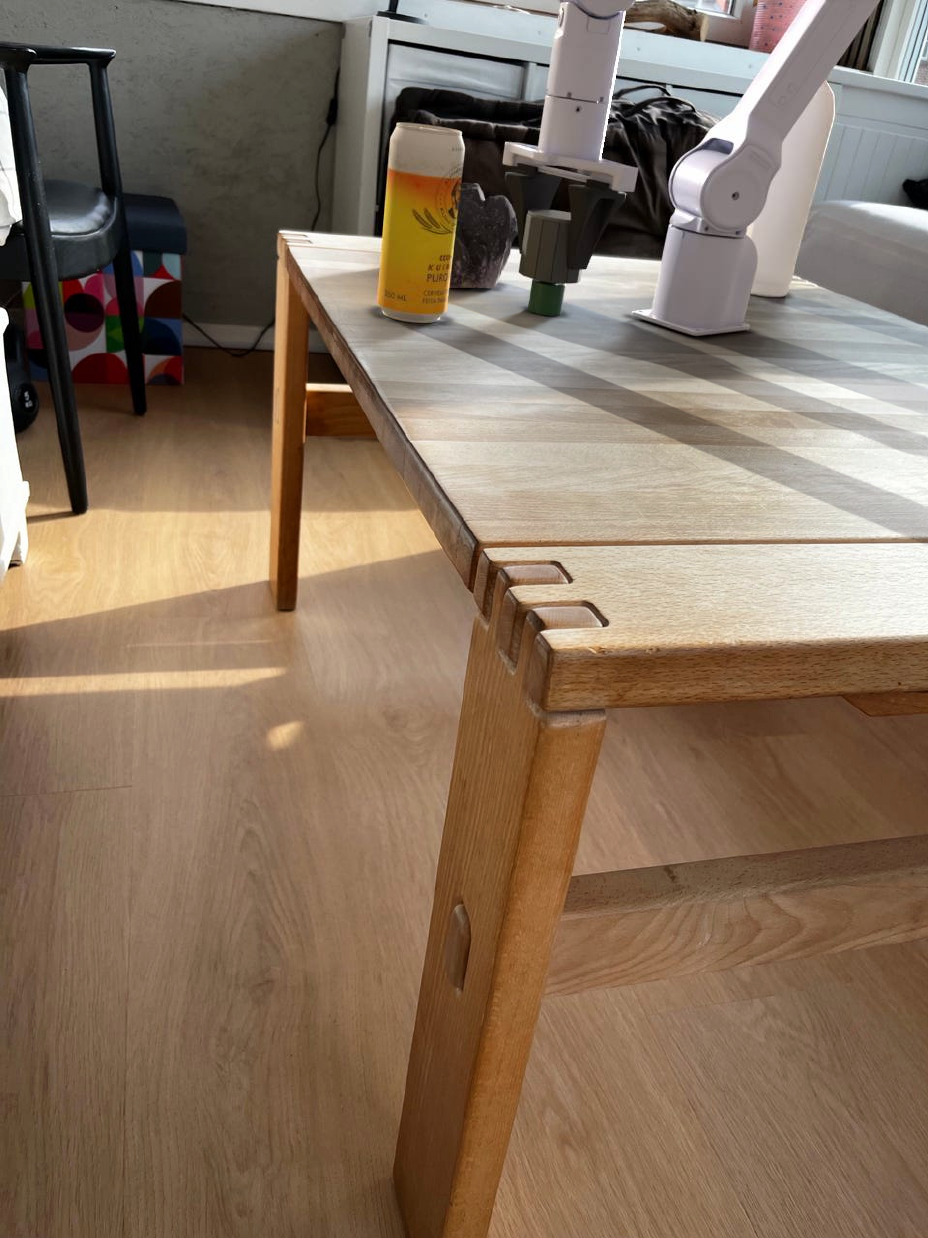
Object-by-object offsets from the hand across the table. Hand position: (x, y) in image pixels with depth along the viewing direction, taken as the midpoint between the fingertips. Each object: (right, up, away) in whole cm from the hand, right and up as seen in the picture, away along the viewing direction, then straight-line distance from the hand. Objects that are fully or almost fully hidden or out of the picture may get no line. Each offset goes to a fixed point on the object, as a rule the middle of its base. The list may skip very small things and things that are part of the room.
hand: (552, 261), depth 96 cm
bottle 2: (+27, +6, +28) cm, 39 cm away
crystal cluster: (-11, +2, +11) cm, 15 cm away
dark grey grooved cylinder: (0, -1, +1) cm, 1 cm away
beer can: (-13, -7, -6) cm, 16 cm away
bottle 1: (-1, -4, +2) cm, 5 cm away
